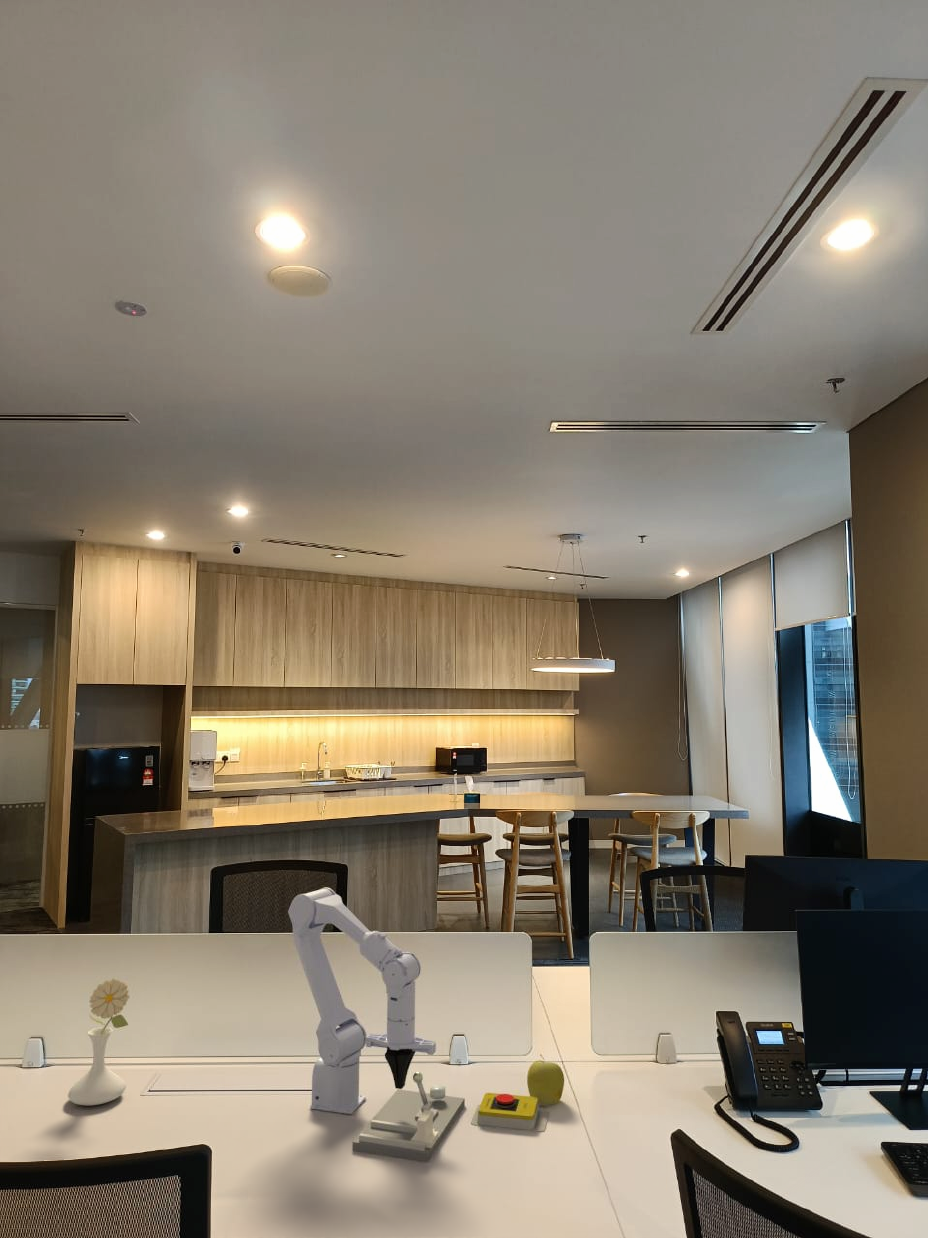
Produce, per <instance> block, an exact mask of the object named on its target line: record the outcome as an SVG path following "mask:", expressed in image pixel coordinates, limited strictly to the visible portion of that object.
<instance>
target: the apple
mask: <svg viewBox="0 0 928 1238" xmlns="http://www.w3.org/2000/svg"><path fill="white" fill-rule="evenodd" d="M539 1056H540V1057H541V1058H542V1059H544V1057H543V1055H542V1054H539ZM526 1075H527V1076H526V1083H527V1089H528V1093H529V1096H530V1097H536V1098H537V1099H538V1106H542V1107H548V1106H555V1105H557V1104H559V1102H560V1100H561V1099H562V1095H563V1091H564V1086H565V1076H564V1072H563V1070H562V1068H561V1066H560V1065H559V1064H557V1063H555V1062H551V1061H545V1060H541V1059H540V1060H536V1061H534V1062H532V1064H531V1065H530V1066H529V1068H528V1070H527V1074H526Z"/></svg>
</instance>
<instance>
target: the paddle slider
mask: <svg viewBox="0 0 928 1238" xmlns="http://www.w3.org/2000/svg"><path fill="white" fill-rule="evenodd" d="M438 1137H439V1132H436V1131H433V1111H429V1110H424V1112H423V1113H422V1114H421V1116H420V1117H419V1118H418V1120H417V1132H416V1133H415V1135H414V1136H413V1138H412V1139H411V1141H414V1142H421V1143H425V1148H432V1146H433V1145H434V1143H435V1142H436V1140H437V1139H438Z"/></svg>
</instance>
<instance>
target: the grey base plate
mask: <svg viewBox="0 0 928 1238" xmlns="http://www.w3.org/2000/svg"><path fill="white" fill-rule="evenodd" d="M425 1094H426V1097H427V1101H428V1100H429V1101H431V1102H432V1105H433V1106H432V1108H431V1109H430V1111H433V1131H436V1132H439V1137H438V1139H437V1140H436V1142H435V1143H434V1145H433V1146H432V1148H425V1143H421V1142H414V1141H411V1139H412V1138H413V1136H414V1135H415V1133H416V1132H417V1120H418V1118H419V1117H420V1116H421V1114H422V1111H421V1108H422V1106H423V1105H424V1104H423V1102H422V1098H421V1095H420V1092H419V1091H414V1090H413V1091H412V1090H405V1089H397V1090H396V1091H394V1093H393V1094H392V1096H390V1098H389V1099H388V1100H387V1101H386V1102H385V1104H384V1105H382V1107H381V1108H380V1109H379V1111H378V1112H377V1113H376V1114H375V1115H374V1116H373V1117H372V1119H371V1120H369V1122H368V1123H367V1124H366V1125H365V1127H364V1128H363V1129H362V1131H361V1132H360V1133H359V1134H357V1136H356V1137H355V1138H354V1139H353V1140H352V1148H351V1149H352V1151H354V1152H360V1153H367V1154H374V1155H379V1156H384V1157H385V1156H387V1157H391V1158H392V1157H393V1158H398V1159H405V1160H411V1161H419V1162H423V1163H429V1161H430V1160H431V1158H432V1157H433V1156H434V1154H435V1153H436V1150H438V1148H439V1146H440V1145H441V1143H442V1142H443V1140H444V1138H445V1137H446V1135H447V1133H449V1130H450V1129H451V1128H452V1126H453V1124H454V1123H455V1121H456V1120H457V1118H458V1116H460V1114H461V1112H462V1111H463V1109H464V1108H465V1106H466V1105H465V1104H466V1103H465V1100H466V1099H465V1098H464V1097H459V1096H458V1097H456V1096H451V1095H450V1096H449V1095H445V1097H444V1098H443V1099H432V1098H431V1097H430V1092H429V1093H428V1092H425Z"/></svg>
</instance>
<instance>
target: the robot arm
mask: <svg viewBox="0 0 928 1238" xmlns="http://www.w3.org/2000/svg"><path fill="white" fill-rule="evenodd" d="M287 913H288V915H289V919H290V922H291V924H292V939H293V942H294V946H295V947H296V951H297V953H298V957H299V960H300V962H301V965H302V968H303V971H304V973H305V976H306V979H307V982H308V985H309V988H310V991H311V994H312V996H313V999H314V1002H315V1006H316V1008H317V1011H318V1014H319V1017H320V1021H319V1023H318V1026H317V1028H316V1031H315V1034H316V1037H317V1043H318V1046H317V1049H318V1054H319V1057H318V1058H317V1059H316V1061H315V1062H314V1065H313V1069H312V1075H311V1076H312V1077H311V1103H310V1105H309V1109H312V1110H313V1109H314V1110H320V1111H326V1112H334V1113H339V1114H345V1115H346V1114H348V1115H352V1114H353V1113H354V1112H355V1111H356V1110H357V1109H358V1108H359V1106H360V1105H361V1104H362V1103H363V1102H364V1101H365V1100H366V1097H367V1096H366V1095H362V1094H361V1095H360V1091H359V1090H360V1057H361V1055H362V1050H363V1049H364V1047H366V1048H372V1047H374V1048H382V1049H383V1048H384V1049H386V1051H385V1053H384V1059H385V1060H386V1062H387V1064H388V1067H389V1068H390V1071H391V1074H392V1078H393V1081H394V1086H395V1089H397V1090H398V1089H399V1090H403V1088H404V1087H405V1086H406V1080H407V1076H408V1072H409V1069H410V1066H411V1063H412V1061H413V1058H414V1056H415V1053H416V1052H417V1053H423V1054H427V1055H434V1054H435V1053H436V1051H437V1050H436V1049H437V1046H436V1045H437V1043H436V1041H435V1040H434V1041H433V1040H427V1039H425V1038H422V1037H418V1036H415V1033H416V1032H415V1031H416V1030H415V1027H416V1026H415V1025H416V980H417V979H418V978H419V976H420V975H421V971H422V970H421V968H422V967H421V964H420V961H419V958H417V957H416V955H415V954H414V952H410V951H406V952H405V951H403V949H401V948H400V947H398V946H396V945H395V944H394V943H392V941H390V940H389V939H388V938H387V935H386V934H385V933H384V931H381V932H380V931H378V930H373V931H371V930H370V929H368V927H366V926H365V924H363V922H362V921H360V919H358V917H357V916H356V915H355V914H354V913H353V912H352V911H351V910H350V909H349V908H348V907H347V906H346V905H345V904H344V903H343V899H342V896H340V895H339V894H337V893H336V892H335V891H334V890H333V889H332V888H330V887H328V886H327V887H326V886H325V887H322V888H320V889H318V890H314V891H309V892H307V893H300V894H298V895H296V896H295V897H294V898H293V899H292V901H291V904H290V906H289V909H288V911H287ZM327 924H331V925H334V926H335V927H336V928H338V929H339V930H340V931H341V932H342V933H344V934H345V935H346V936H348V937H349V938H350V939H351V940H352V941H354V942H355V943H356V944H358V945H359V953H360V955H361V956H363V957H364V958H365V959H366V960H367V961H368V962H370V964H372V965H373V966H374V967H375V968H376V969H377V971H379V972H380V973H381V977H382V981H383V982H384V984H385V986H386V987H385V988H386V989H385V990H386V994H387V995H386V996H387V997H386V999H387V1001H386V1002H387V1003H386V1034H384V1033H383V1034H382V1033H381V1034H378V1033H376V1034H375V1033H374V1034H372V1033H369V1034H368V1035H367V1032H366V1029H365V1026H363V1024H362V1023H361V1022H360V1021H359V1019H358V1017H357V1014H356V1013H355V1012H354V1011H352V1010H351V1009H349V1008H347V1006H345V1003H344V1000H343V997H342V994H341V991H340V989H339V986H338V984H337V981H336V978H335V977H336V976H335V975H334V973H333V972H334V971H333V969H332V967H331V964H330V961H329V958H328V956H327V952H326V950H325V947H324V945H323V941H322V939H321V935H322V933H323V930H324V928H325V926H326V925H327Z"/></svg>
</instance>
